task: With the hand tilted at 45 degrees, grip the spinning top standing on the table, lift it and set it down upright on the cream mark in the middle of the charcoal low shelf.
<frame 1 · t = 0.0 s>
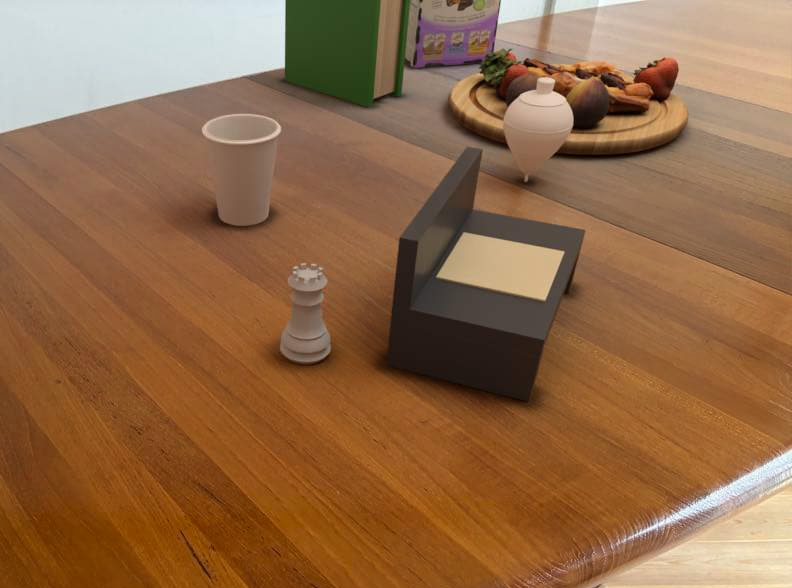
rook chess piece: (305, 353, 72), on the table
shelf: (484, 323, 75), on the table
wooden plate: (561, 117, 116), on the table
candy box: (446, 62, 137), on the table
spinning top: (525, 183, 99), on the table
dixie cup: (243, 216, 93), on the table
hardback book: (341, 89, 127), on the table
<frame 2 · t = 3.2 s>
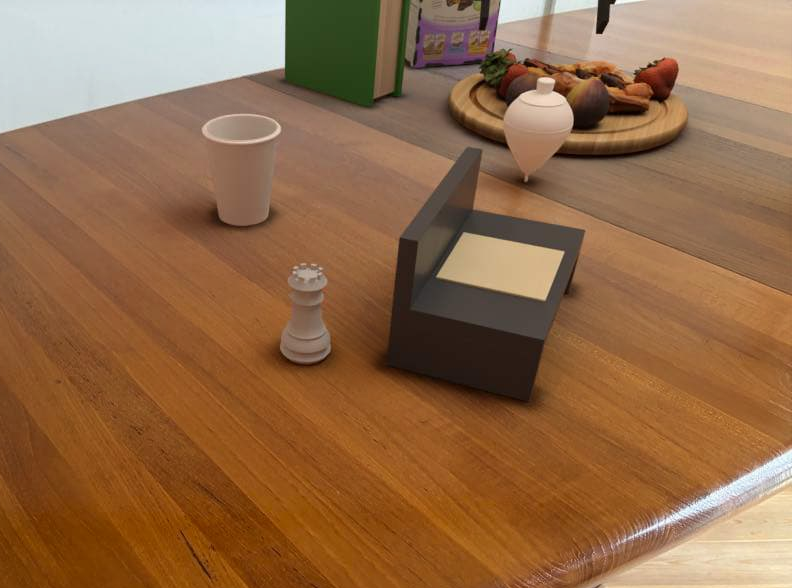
hand: (542, 26, 97), 15 cm above the table, tool tilted 45°, fingers open, 13 cm apart
nothing on the table moved.
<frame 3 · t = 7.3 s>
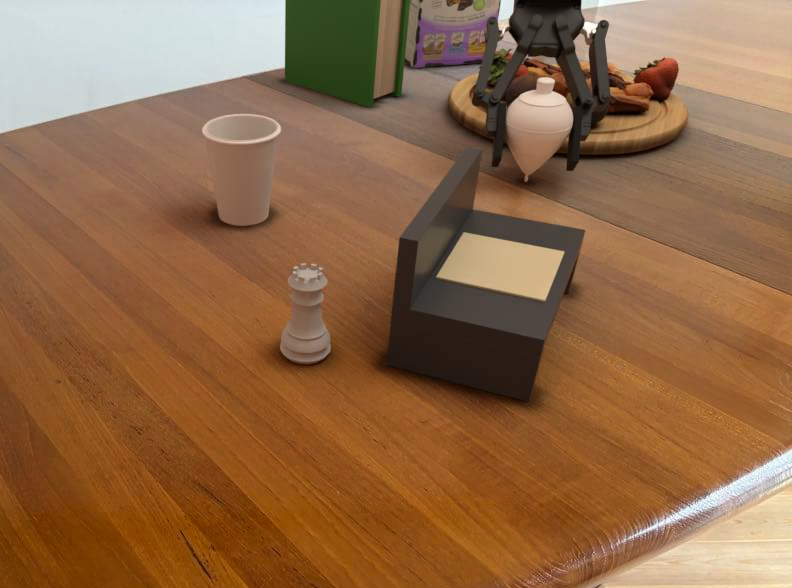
hand: (534, 164, 94), 4 cm above the table, tool tilted 45°, fingers closed on spinning top, 8 cm apart
spinning top: (525, 183, 99), on the table, touching gripper
everything else where it was.
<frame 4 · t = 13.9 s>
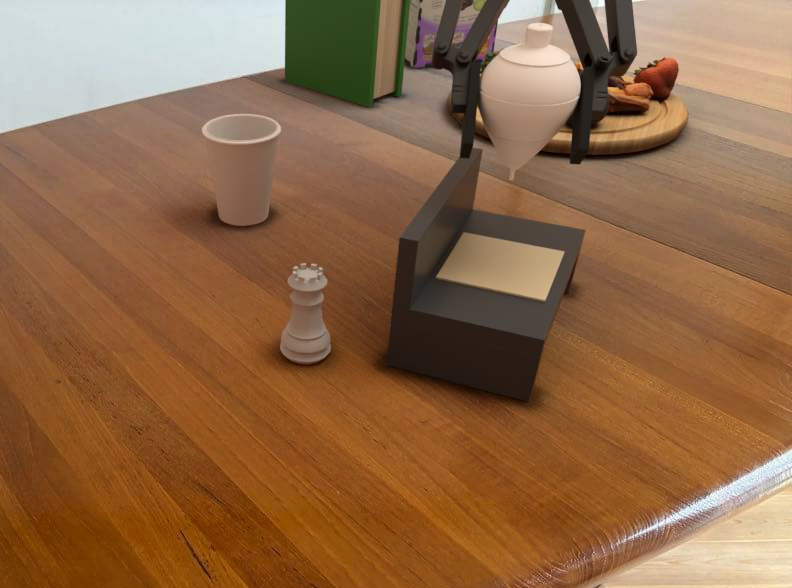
hand: (522, 153, 63), 17 cm above the table, tool tilted 45°, fingers closed on spinning top, 8 cm apart
spinning top: (510, 182, 68), point 13 cm above the table, touching gripper
everything else where it was.
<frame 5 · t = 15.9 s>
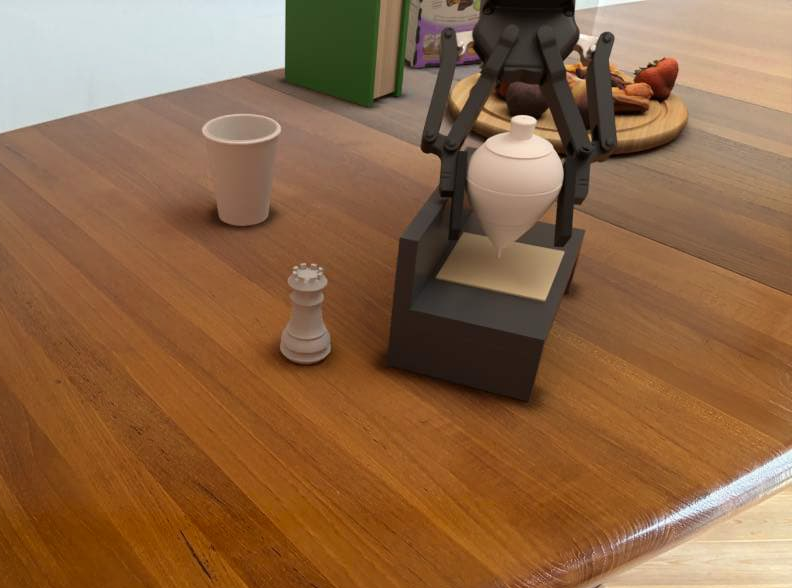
hand: (508, 238, 66), 10 cm above the table, tool tilted 45°, fingers closed on spinning top, 8 cm apart
spinning top: (497, 259, 71), point 6 cm above the table, touching gripper
everything else where it was.
when the fingers open (11 cm above the table, at t = 20.4 s): spinning top stays where it is, resting on shelf.
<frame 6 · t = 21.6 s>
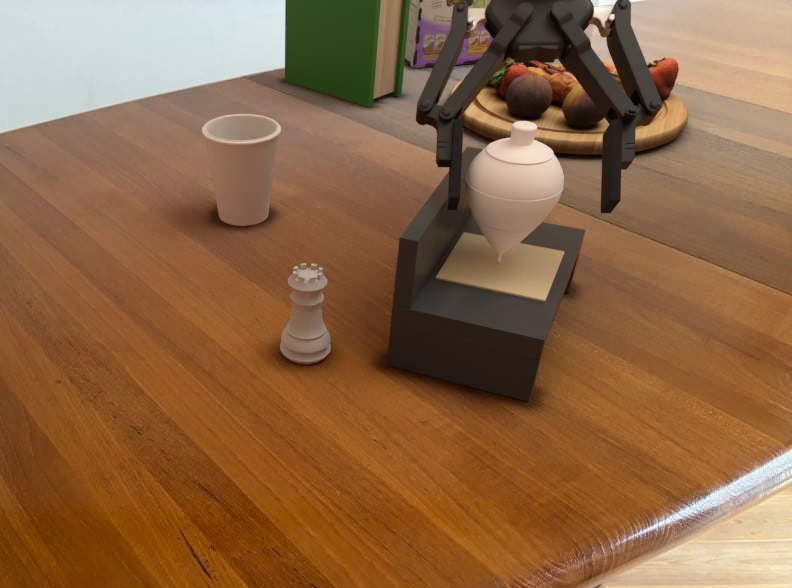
hand: (530, 205, 65), 13 cm above the table, tool tilted 45°, fingers open, 11 cm apart
spinning top: (497, 264, 71), point 6 cm above the table, touching shelf
everything else where it was.
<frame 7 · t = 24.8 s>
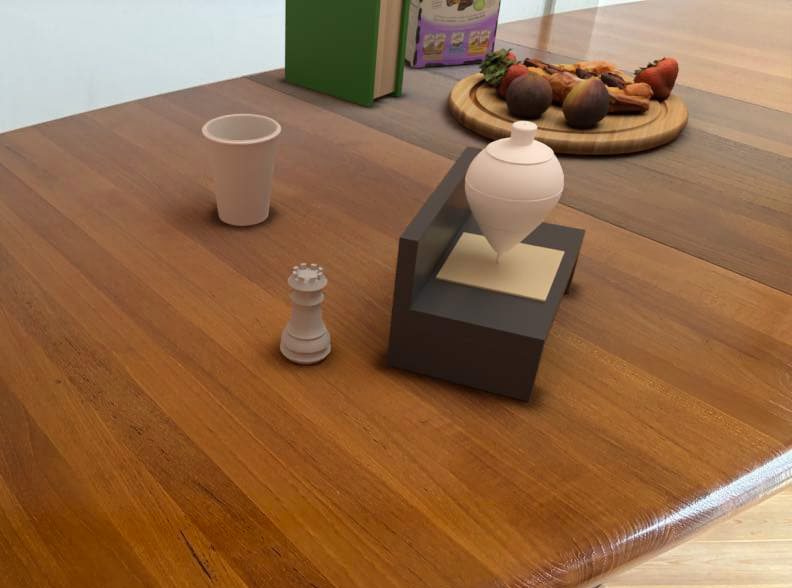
nothing on the table moved.
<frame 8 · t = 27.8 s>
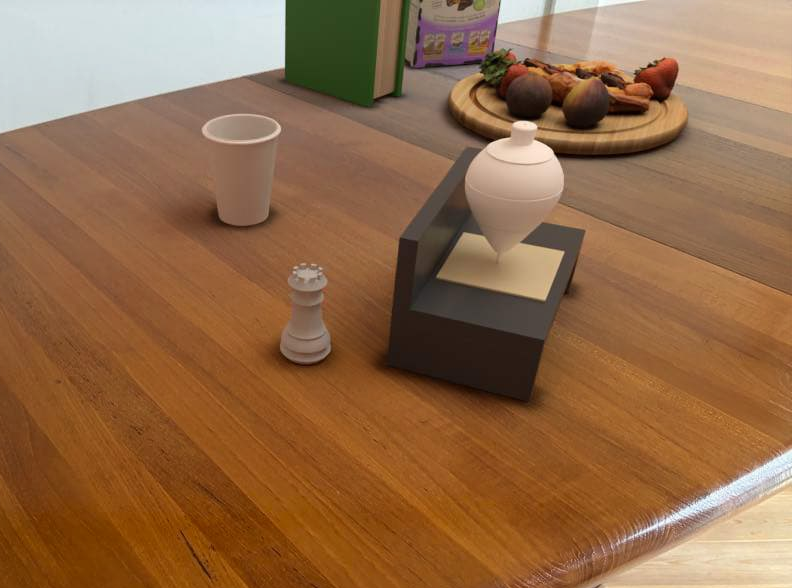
nothing on the table moved.
at the end: spinning top 0.3 cm off-centre on the shelf, point 6.0 cm above the shelf's base; spinning top tilted 0°; the gripper is holding nothing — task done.
